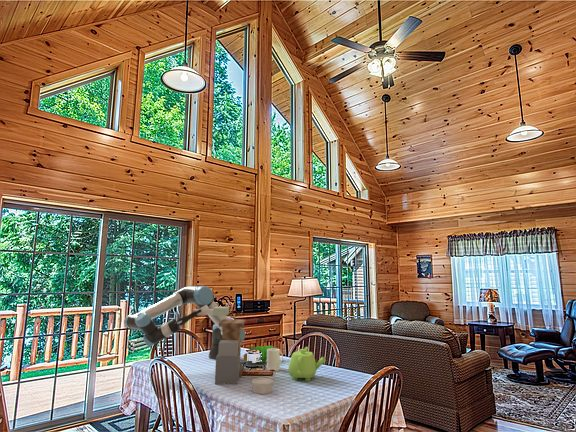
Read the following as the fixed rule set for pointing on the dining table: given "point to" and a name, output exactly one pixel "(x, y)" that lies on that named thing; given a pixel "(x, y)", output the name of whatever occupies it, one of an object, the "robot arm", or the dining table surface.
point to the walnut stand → (233, 333)
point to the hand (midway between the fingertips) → (207, 307)
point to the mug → (274, 358)
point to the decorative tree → (262, 349)
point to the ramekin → (262, 385)
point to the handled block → (215, 311)
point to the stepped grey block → (227, 362)
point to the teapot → (304, 364)
